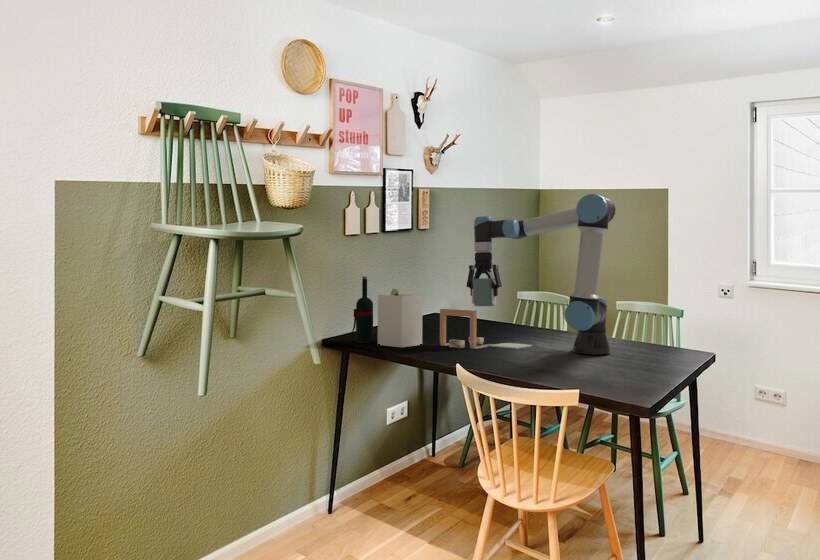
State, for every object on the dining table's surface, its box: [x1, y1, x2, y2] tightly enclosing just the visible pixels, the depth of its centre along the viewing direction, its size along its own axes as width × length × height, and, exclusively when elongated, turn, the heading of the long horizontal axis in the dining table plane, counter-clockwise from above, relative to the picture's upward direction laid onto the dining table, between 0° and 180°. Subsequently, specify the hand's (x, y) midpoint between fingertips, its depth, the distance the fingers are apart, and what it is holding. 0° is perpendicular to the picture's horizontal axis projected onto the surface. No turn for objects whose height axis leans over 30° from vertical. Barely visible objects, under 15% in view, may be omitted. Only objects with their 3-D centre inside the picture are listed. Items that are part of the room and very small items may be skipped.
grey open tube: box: [473, 277, 495, 307], centre depth 281 cm, size 10×10×12 cm
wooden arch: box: [439, 308, 478, 347], centre depth 277 cm, size 18×2×15 cm, turn 50°
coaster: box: [490, 342, 533, 350], centre depth 280 cm, size 13×13×1 cm
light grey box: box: [377, 293, 424, 348], centre depth 285 cm, size 14×14×22 cm
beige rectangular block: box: [448, 336, 485, 349], centre depth 282 cm, size 6×18×3 cm, turn 140°
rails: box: [439, 342, 495, 350], centre depth 283 cm, size 18×15×1 cm
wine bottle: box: [351, 276, 374, 343], centre depth 291 cm, size 8×10×30 cm
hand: (484, 303), depth 281 cm, fingers closed on grey open tube, 9 cm apart
